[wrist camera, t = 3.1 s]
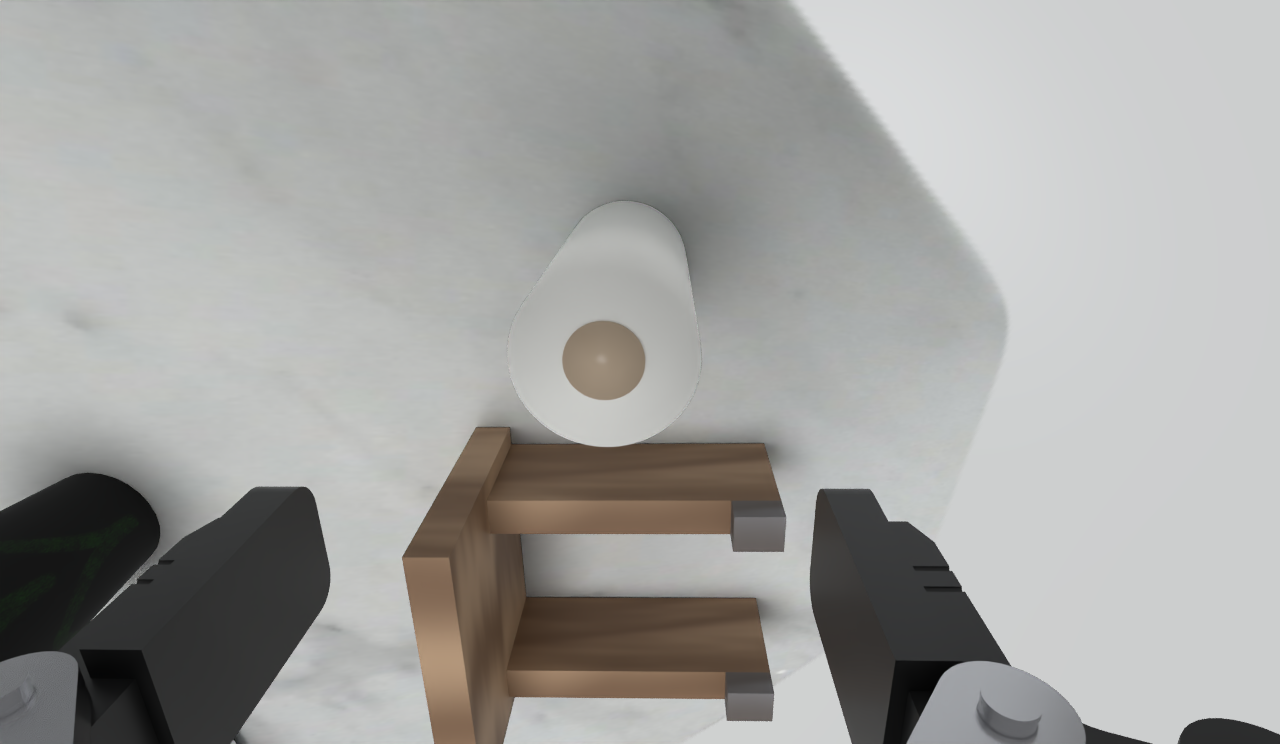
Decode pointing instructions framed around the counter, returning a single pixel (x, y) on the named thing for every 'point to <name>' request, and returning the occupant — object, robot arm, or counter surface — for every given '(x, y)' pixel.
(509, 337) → the roll
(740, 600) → the holder
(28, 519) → the cup
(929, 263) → the counter surface
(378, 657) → the counter surface
